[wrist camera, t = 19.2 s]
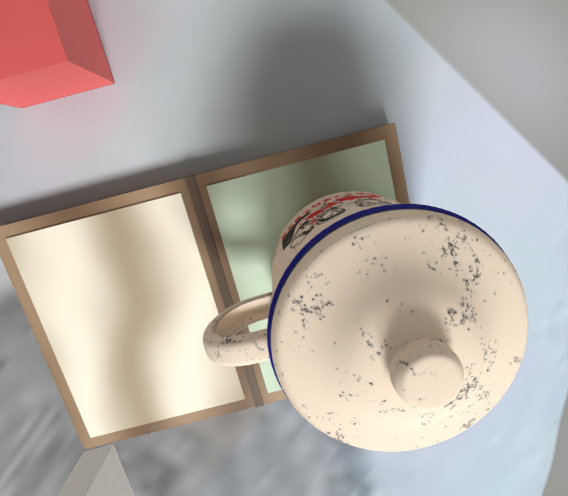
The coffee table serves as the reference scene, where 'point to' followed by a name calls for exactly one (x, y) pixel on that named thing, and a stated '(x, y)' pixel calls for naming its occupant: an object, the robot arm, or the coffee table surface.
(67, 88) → the red die
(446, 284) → the teacup with lid
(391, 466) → the coffee table surface
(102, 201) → the wooden picture frame
